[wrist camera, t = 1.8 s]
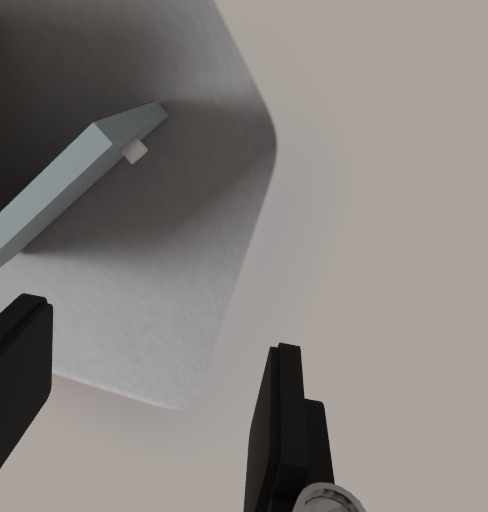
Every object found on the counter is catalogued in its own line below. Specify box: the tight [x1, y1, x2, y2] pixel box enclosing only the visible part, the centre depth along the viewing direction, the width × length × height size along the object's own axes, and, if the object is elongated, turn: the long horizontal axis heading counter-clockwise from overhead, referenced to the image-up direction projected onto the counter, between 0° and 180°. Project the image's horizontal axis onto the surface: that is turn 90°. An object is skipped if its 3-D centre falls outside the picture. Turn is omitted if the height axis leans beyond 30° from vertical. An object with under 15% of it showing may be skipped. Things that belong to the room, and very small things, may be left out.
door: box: [0, 101, 169, 267], centre depth 28 cm, size 17×2×12 cm, turn 130°
